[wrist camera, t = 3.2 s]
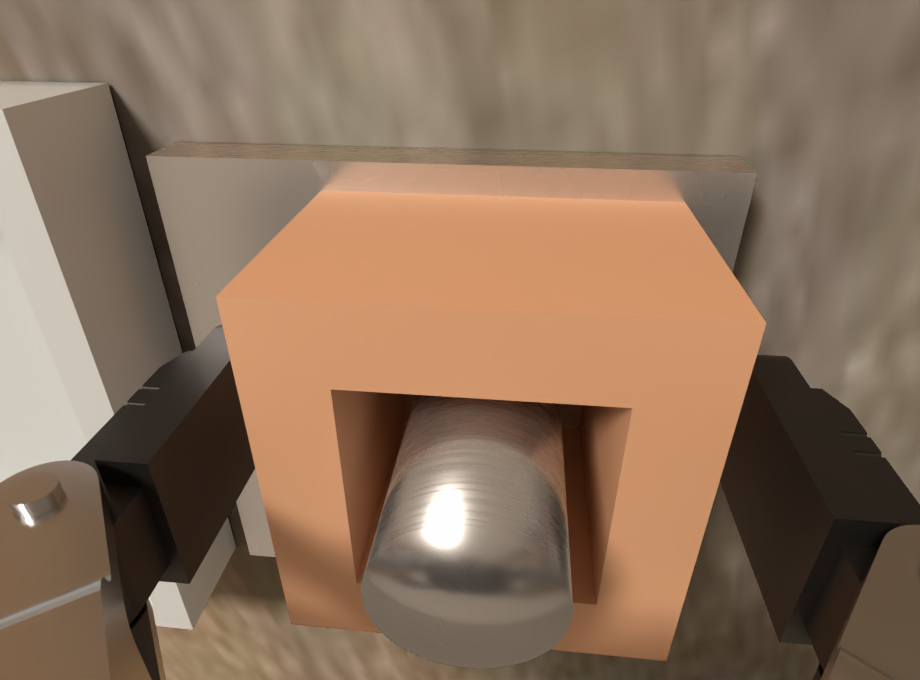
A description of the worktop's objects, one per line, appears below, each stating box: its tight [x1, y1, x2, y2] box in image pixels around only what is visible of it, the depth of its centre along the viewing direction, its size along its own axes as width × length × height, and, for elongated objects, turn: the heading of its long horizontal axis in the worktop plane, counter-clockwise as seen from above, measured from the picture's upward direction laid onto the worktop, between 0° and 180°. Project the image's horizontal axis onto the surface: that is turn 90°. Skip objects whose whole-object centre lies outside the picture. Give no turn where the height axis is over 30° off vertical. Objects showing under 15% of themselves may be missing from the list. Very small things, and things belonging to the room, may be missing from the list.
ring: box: [216, 191, 766, 661], centre depth 10 cm, size 6×6×4 cm
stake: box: [146, 142, 757, 669], centre depth 11 cm, size 10×10×6 cm
